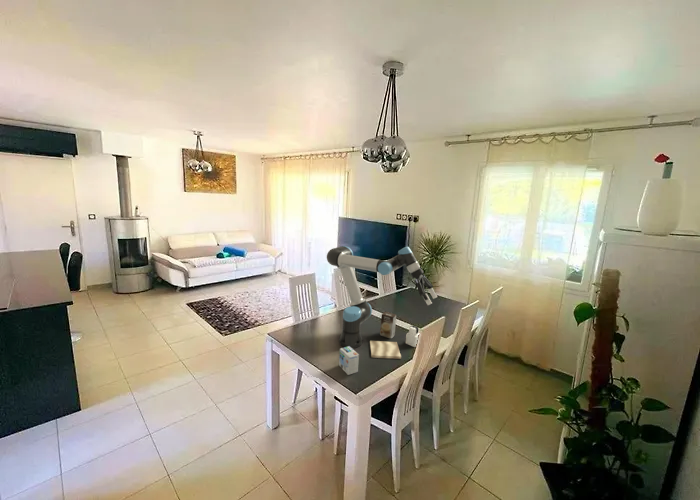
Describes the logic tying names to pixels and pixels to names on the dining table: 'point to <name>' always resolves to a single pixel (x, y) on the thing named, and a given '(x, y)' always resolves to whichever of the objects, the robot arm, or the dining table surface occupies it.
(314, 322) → the dining table surface
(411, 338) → the medicine bottle
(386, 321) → the coffee box
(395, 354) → the birch board
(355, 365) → the light bulb box
